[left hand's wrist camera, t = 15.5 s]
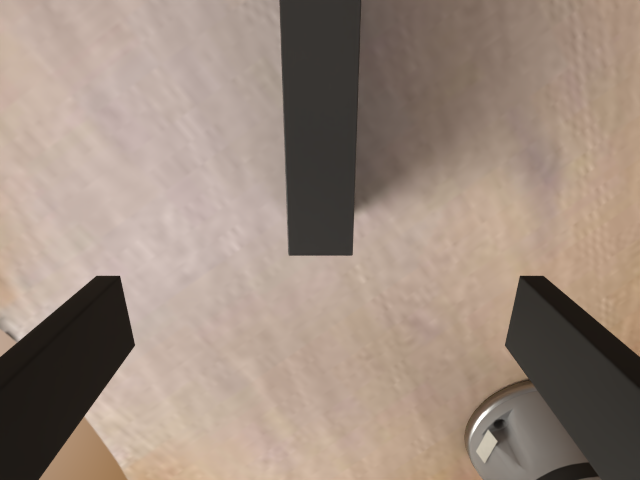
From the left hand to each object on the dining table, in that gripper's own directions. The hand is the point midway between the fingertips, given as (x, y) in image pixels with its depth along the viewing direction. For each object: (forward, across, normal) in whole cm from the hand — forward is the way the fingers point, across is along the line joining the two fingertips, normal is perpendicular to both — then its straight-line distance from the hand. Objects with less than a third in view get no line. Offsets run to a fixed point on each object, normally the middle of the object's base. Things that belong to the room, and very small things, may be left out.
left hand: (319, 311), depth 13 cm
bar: (+22, 0, -10) cm, 24 cm away
